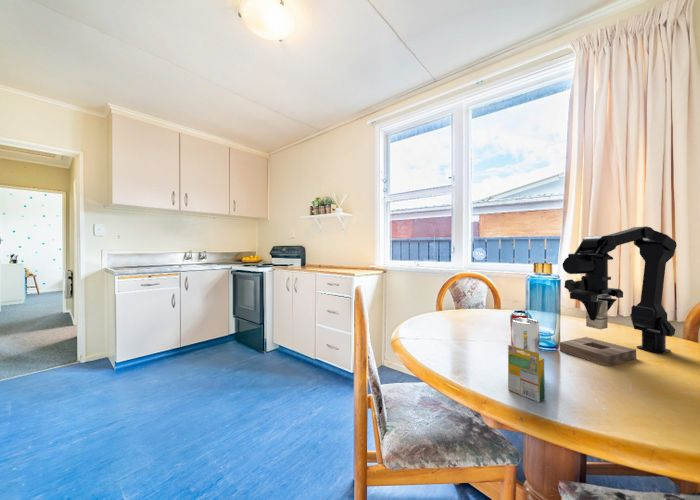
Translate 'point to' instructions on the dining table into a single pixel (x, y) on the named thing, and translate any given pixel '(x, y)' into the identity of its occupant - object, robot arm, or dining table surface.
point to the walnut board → (598, 351)
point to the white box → (525, 334)
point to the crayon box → (526, 374)
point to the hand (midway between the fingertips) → (596, 319)
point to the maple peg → (599, 317)
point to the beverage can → (516, 315)
